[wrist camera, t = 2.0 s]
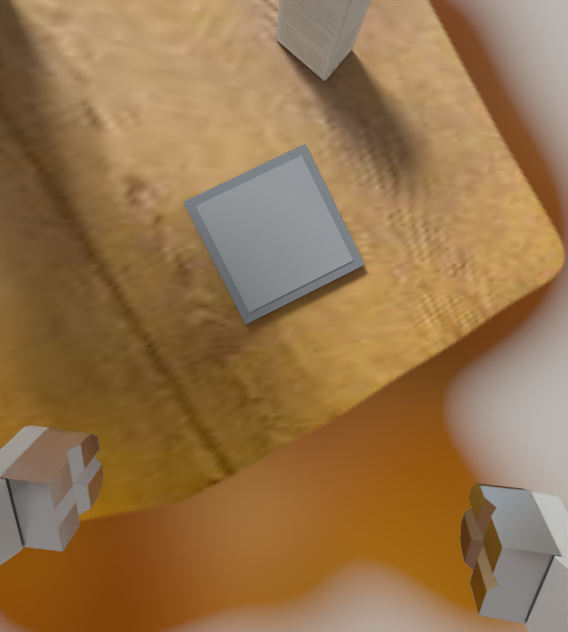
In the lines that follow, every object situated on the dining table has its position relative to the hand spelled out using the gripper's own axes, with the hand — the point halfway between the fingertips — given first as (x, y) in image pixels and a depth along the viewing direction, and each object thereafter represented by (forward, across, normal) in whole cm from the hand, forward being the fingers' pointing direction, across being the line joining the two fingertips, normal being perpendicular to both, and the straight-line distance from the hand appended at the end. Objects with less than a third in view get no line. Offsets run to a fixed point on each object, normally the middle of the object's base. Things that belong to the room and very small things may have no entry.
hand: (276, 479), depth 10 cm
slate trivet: (+33, +5, +3) cm, 33 cm away
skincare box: (+41, +3, -13) cm, 43 cm away
